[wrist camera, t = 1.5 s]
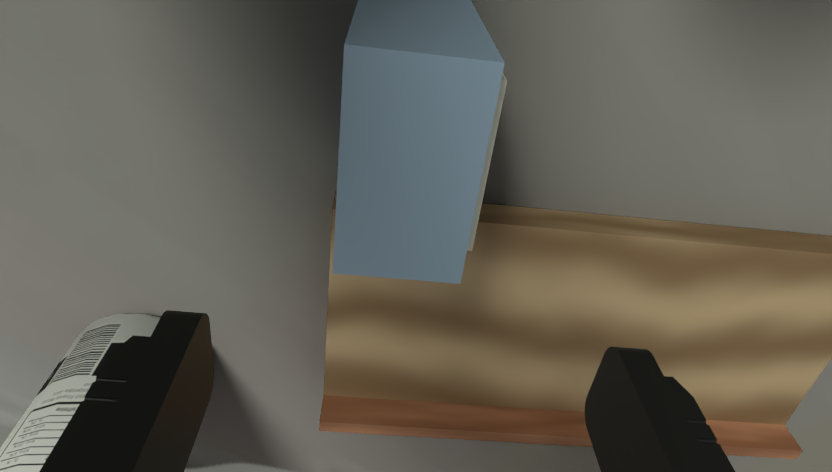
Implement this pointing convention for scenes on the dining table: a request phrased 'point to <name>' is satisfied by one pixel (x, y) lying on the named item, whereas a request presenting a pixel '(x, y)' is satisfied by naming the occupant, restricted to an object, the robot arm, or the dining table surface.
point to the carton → (414, 138)
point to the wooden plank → (583, 329)
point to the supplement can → (67, 390)
